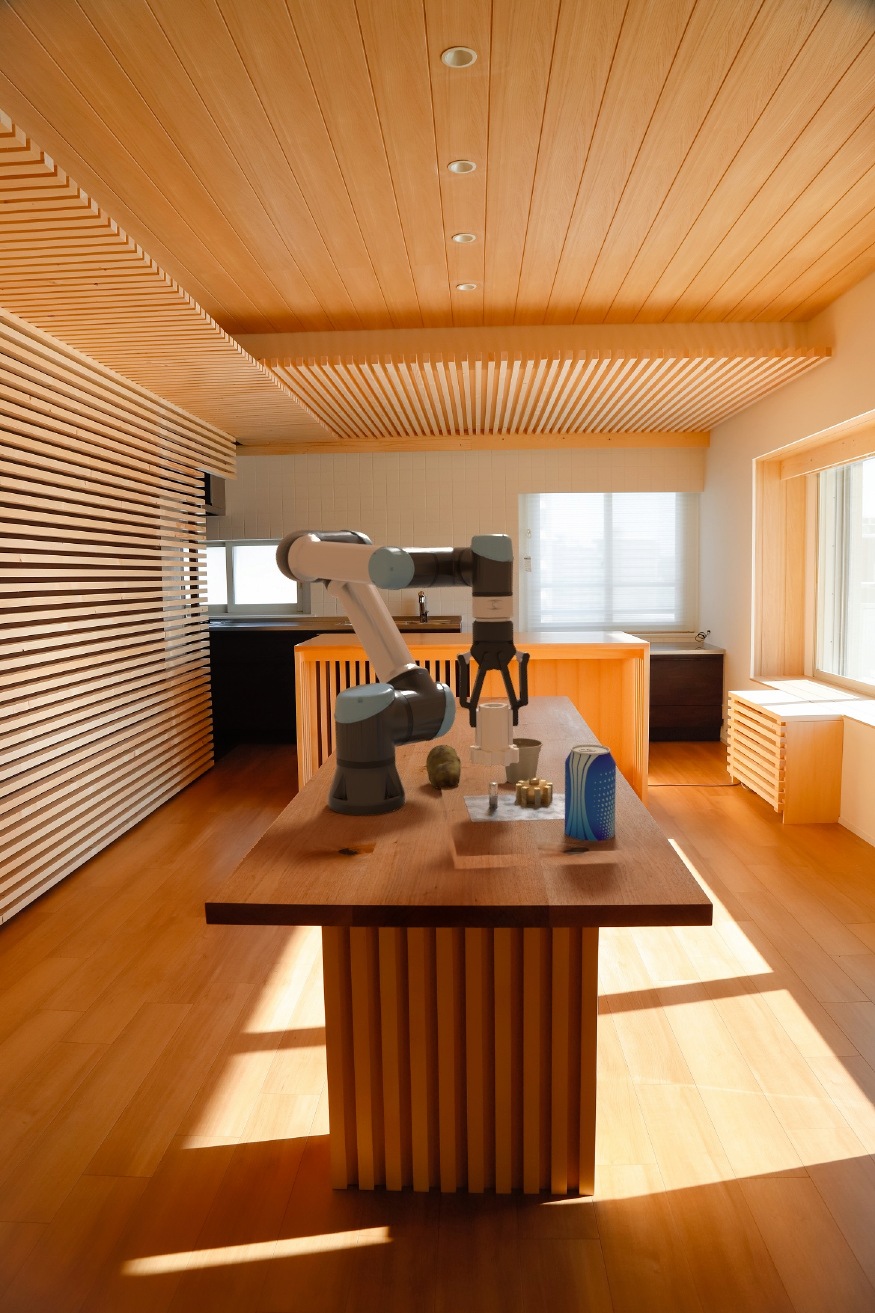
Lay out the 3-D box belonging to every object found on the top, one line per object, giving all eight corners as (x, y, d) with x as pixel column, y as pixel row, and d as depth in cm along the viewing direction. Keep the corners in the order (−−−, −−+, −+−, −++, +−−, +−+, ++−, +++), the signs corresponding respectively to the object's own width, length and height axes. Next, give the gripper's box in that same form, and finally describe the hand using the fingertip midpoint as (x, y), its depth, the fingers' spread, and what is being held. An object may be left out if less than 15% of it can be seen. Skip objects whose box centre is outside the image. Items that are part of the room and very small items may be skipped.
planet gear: (473, 767, 146) (472, 710, 144) (468, 756, 154) (467, 702, 153) (521, 765, 146) (521, 708, 145) (514, 754, 155) (513, 700, 154)
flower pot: (541, 788, 169) (541, 748, 168) (496, 786, 170) (496, 746, 169) (544, 776, 178) (544, 738, 177) (502, 775, 180) (501, 737, 179)
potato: (418, 793, 166) (418, 755, 165) (429, 776, 179) (429, 741, 178) (458, 794, 165) (458, 756, 164) (466, 778, 178) (466, 742, 177)
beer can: (580, 829, 143) (580, 741, 141) (623, 839, 137) (624, 747, 136) (555, 842, 136) (555, 749, 134) (599, 853, 131) (601, 757, 129)
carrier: (472, 830, 143) (471, 797, 142) (463, 803, 159) (463, 773, 158) (593, 826, 144) (594, 793, 144) (573, 799, 160) (573, 770, 159)
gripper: (444, 622, 143) (446, 750, 146) (546, 619, 144) (546, 746, 147) (441, 619, 150) (443, 741, 153) (538, 617, 152) (538, 738, 154)
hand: (494, 743), depth 150 cm, fingers closed on planet gear, 5 cm apart
